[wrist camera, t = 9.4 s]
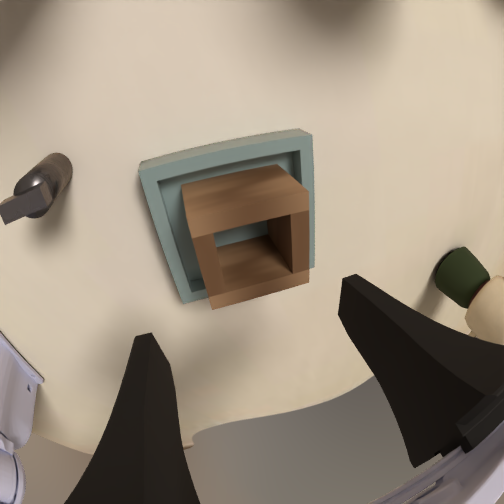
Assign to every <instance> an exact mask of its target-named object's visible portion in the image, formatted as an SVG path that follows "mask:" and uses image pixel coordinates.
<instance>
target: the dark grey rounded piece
mask: <svg viewBox="0 0 504 504" xmlns="http://www.w3.org/2000/svg"><path fill="white" fill-rule="evenodd" d="M71 177H72V164H71V162H70V160H69V159H68V158H67V157H66V156H65V155H63V154H61V153H52V154H50V155H48V156H47V157H46V158H44V159H43V160H42V161H41V162H40V163H38V164H37V165H36V166H35V167H34V168H33V169H31V170H30V171H29V172H28V173H27V174H26V175H25V176H23V177H22V178H21V179H20V180H19V181H18V182H17V184H16V186H15V189H14V195H13V196H11V197H9V198H7V199H5V200H3V201H2V202H1V203H0V215H1V217H2V219H3V221H4V224H5V225H6V224H8V223H11V222H13V221H15V220H17V219H20V218H22V217H24V216H26V217H29V218H39V217H42V216H43V215H44V214H45V213H46V212H47V211H48V210H49V208H50V207H51V205H52V204H53V202H54V201H55V200H56V198H57V197H58V196H59V194H60V193H61V191H62V190H63V189H64V187H65V186H66V185H67V184H68V182H69V181H70V179H71Z"/></svg>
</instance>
